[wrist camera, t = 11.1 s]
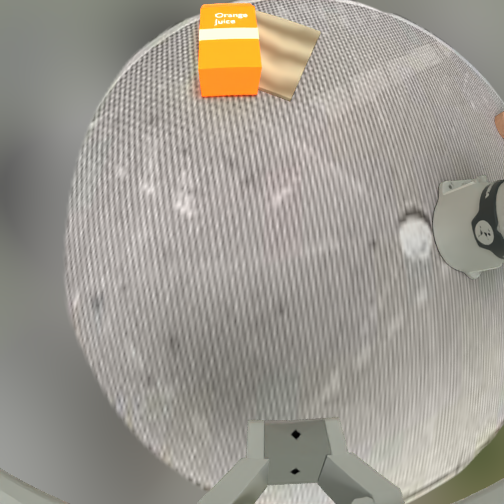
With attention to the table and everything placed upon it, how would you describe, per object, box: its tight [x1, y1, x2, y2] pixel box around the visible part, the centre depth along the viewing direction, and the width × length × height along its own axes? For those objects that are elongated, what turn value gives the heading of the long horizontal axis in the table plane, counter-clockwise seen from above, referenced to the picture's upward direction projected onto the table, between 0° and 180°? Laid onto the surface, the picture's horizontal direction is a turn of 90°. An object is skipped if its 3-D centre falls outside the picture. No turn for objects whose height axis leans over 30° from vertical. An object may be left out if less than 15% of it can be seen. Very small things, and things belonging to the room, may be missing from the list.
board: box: [255, 10, 321, 101], centre depth 45 cm, size 20×14×1 cm
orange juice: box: [198, 3, 262, 97], centre depth 40 cm, size 8×9×20 cm
